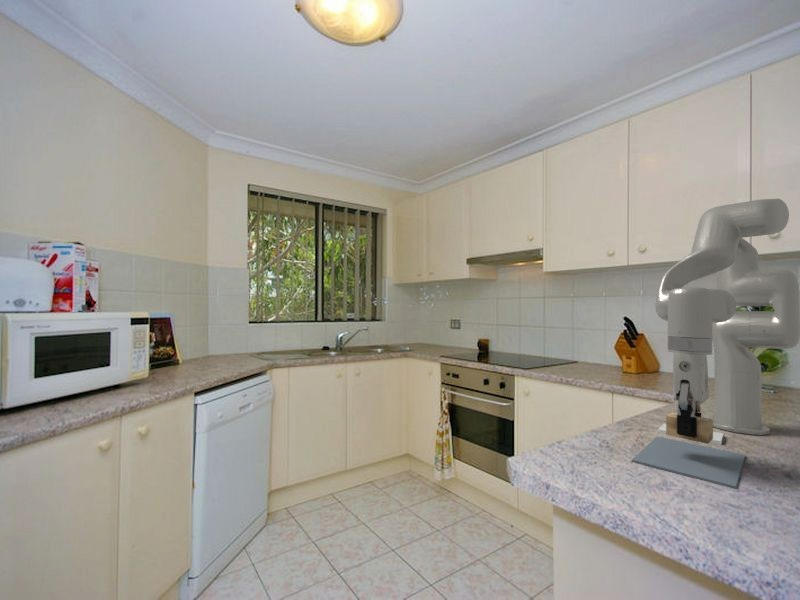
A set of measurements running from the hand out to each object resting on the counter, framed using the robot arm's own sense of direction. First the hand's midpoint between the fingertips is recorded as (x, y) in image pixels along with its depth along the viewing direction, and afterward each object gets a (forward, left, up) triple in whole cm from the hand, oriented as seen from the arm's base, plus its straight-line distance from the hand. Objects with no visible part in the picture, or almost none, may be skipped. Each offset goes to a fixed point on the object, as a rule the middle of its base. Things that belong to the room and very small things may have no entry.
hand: (689, 432), depth 80 cm
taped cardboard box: (0, 0, -1) cm, 1 cm away
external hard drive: (-21, -3, -7) cm, 22 cm away
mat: (0, 0, -6) cm, 6 cm away
